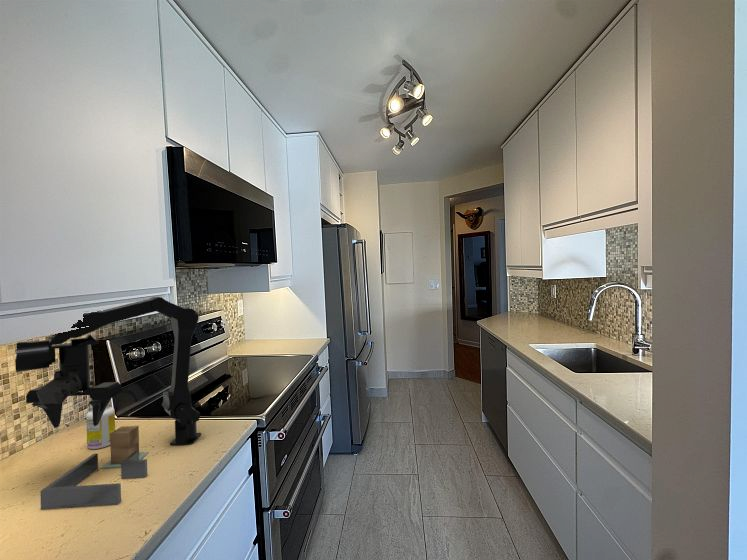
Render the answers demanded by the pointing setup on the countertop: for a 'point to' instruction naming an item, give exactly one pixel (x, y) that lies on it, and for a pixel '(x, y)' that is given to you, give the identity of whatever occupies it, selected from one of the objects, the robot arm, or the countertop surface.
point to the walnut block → (123, 443)
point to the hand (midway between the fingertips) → (76, 426)
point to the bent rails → (71, 495)
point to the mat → (109, 465)
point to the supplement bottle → (100, 428)
